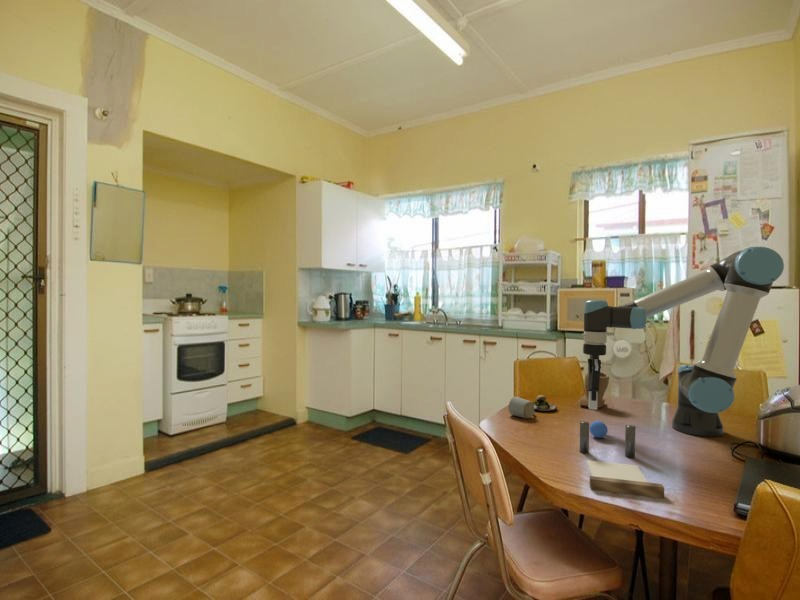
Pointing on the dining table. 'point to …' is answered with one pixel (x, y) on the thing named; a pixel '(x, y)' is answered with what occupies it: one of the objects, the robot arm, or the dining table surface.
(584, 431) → the left post
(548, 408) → the plate of salad
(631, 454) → the right post
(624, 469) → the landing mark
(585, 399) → the brown boot
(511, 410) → the ceramic mug
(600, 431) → the ball
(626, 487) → the stopper wall
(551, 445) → the dining table surface
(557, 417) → the dining table surface
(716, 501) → the dining table surface
